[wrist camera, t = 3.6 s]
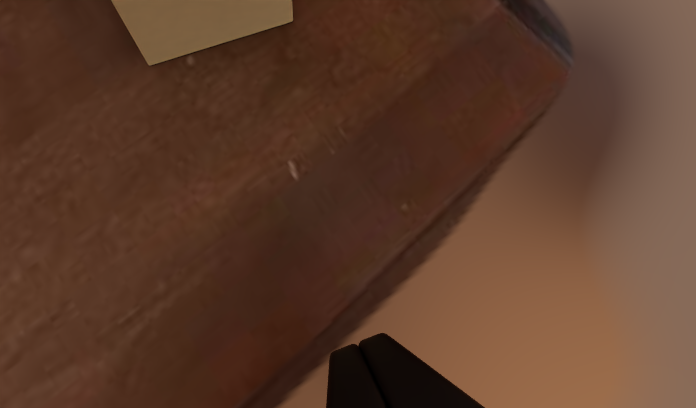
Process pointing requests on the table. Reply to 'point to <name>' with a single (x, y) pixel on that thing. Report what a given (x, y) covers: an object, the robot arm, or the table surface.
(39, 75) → the table surface
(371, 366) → the robot arm
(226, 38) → the cake slice
